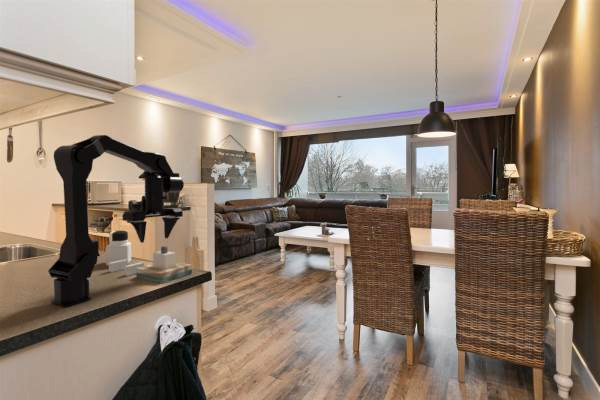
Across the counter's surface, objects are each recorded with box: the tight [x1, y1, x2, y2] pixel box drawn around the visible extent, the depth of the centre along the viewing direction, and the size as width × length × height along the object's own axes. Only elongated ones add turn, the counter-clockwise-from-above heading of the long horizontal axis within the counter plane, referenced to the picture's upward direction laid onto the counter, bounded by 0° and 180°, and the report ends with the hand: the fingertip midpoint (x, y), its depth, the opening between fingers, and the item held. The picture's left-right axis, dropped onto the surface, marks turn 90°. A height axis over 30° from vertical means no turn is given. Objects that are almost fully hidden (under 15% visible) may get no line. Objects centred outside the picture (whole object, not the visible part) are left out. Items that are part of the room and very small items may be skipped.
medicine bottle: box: [105, 230, 132, 267], centre depth 121 cm, size 7×7×12 cm
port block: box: [135, 261, 193, 284], centre depth 106 cm, size 12×12×3 cm
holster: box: [108, 259, 145, 277], centre depth 110 cm, size 6×10×3 cm, turn 63°
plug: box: [152, 245, 177, 270], centre depth 106 cm, size 4×6×8 cm, turn 63°
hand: (154, 240), depth 106 cm, fingers open, 9 cm apart
